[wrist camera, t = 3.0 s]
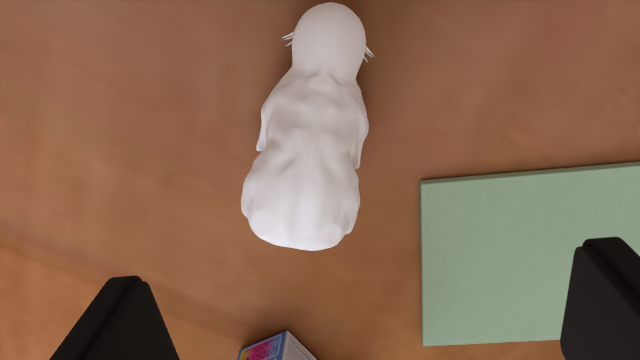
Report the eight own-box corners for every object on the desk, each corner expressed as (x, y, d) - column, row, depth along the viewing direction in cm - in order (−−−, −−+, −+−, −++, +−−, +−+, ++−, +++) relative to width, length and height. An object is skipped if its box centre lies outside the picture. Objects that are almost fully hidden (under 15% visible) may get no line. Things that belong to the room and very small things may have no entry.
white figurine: (223, 257, 20) (254, -14, 16) (253, 186, 28) (279, -9, 24) (353, 278, 21) (420, 19, 16) (347, 202, 29) (390, 13, 24)
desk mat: (421, 340, 35) (423, 346, 34) (419, 180, 28) (421, 184, 27) (683, 327, 33) (688, 333, 32) (750, 151, 26) (758, 155, 26)
